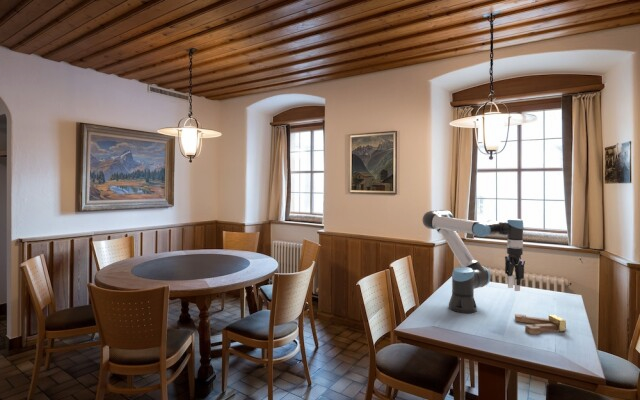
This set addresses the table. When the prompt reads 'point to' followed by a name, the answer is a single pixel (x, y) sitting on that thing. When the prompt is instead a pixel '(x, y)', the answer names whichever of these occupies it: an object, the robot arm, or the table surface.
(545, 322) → the tongs moving arm
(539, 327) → the tongs fixed arm
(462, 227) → the robot arm
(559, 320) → the lock collar
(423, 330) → the table surface
